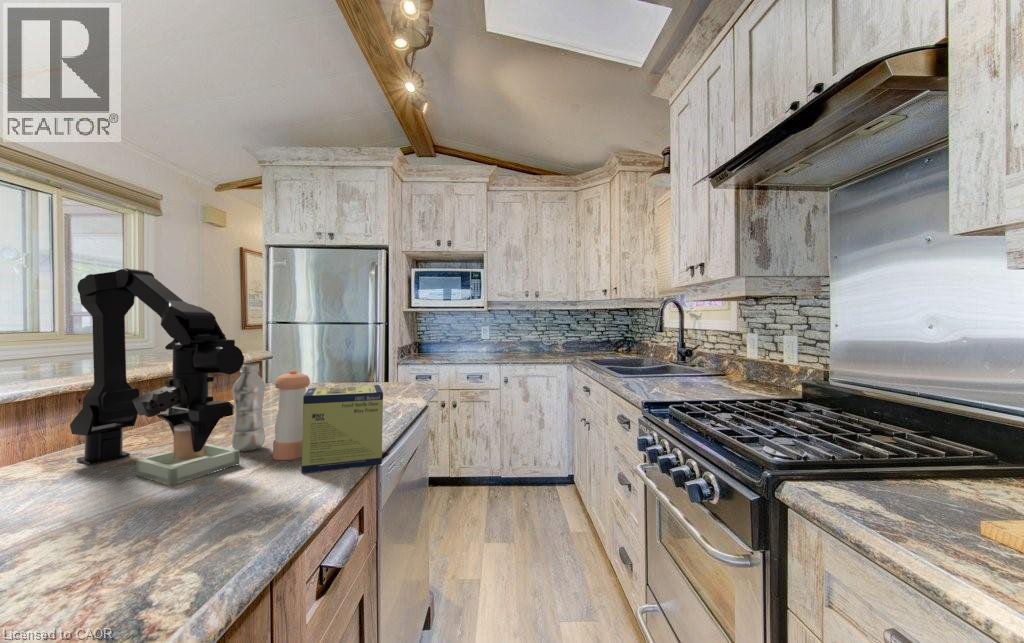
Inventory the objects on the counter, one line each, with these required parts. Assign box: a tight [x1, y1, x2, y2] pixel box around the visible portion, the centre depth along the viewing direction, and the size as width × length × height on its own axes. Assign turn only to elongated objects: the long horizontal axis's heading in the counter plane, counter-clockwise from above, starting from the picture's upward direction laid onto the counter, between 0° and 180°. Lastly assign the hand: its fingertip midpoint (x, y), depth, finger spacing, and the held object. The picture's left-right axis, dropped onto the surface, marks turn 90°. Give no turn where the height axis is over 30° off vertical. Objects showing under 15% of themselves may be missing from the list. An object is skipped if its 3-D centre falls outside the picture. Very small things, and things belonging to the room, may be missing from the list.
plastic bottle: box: [231, 363, 266, 452], centre depth 92 cm, size 6×7×20 cm
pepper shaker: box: [272, 369, 311, 461], centre depth 89 cm, size 7×7×19 cm
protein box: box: [300, 384, 384, 474], centre depth 86 cm, size 10×16×16 cm
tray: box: [135, 442, 240, 487], centre depth 80 cm, size 12×12×3 cm
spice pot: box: [172, 423, 205, 460], centre depth 80 cm, size 5×5×6 cm
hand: (189, 449), depth 80 cm, fingers closed on spice pot, 5 cm apart
